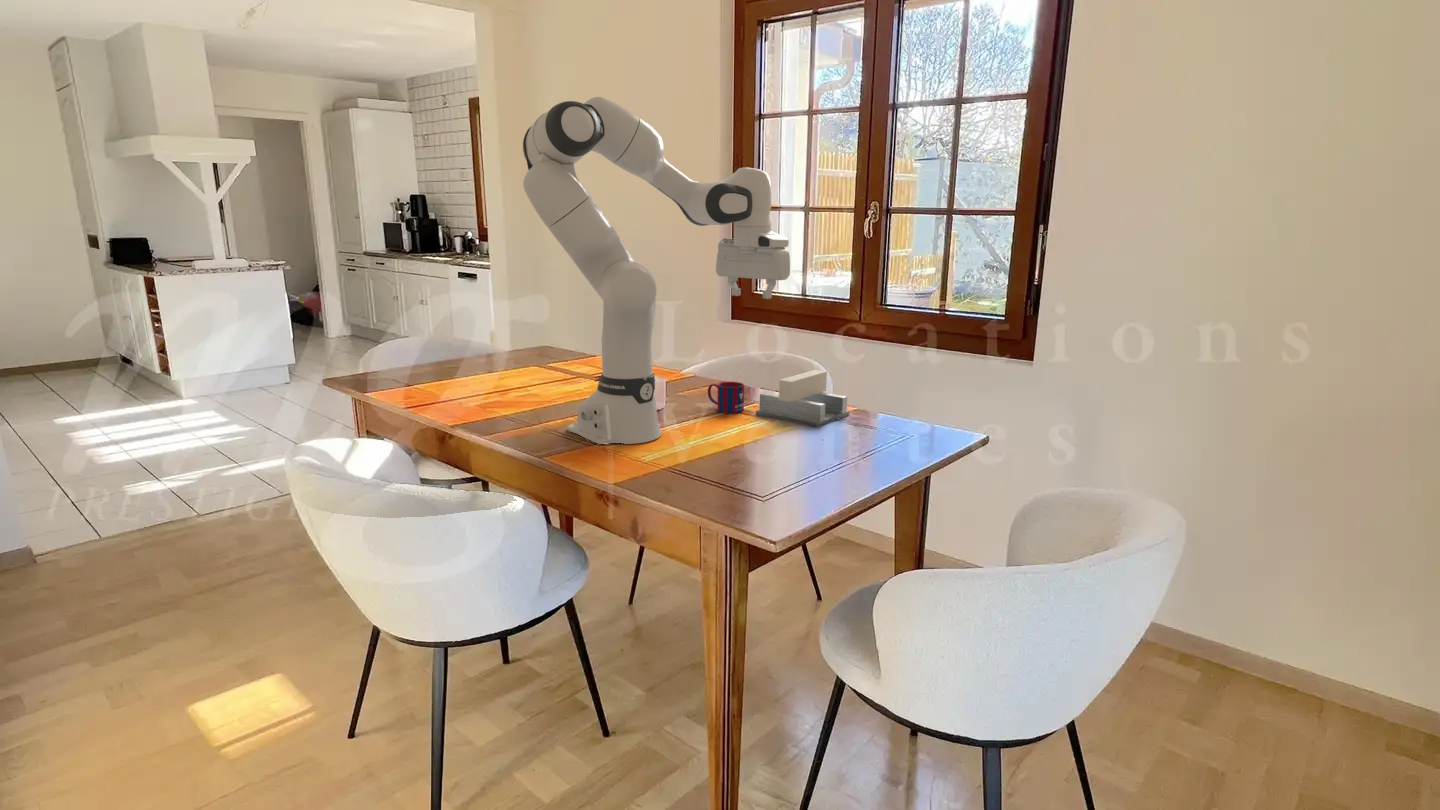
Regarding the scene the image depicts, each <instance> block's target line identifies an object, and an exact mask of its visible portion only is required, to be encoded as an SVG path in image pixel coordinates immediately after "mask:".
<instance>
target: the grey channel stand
mask: <svg viewBox="0 0 1440 810" xmlns="http://www.w3.org/2000/svg"><path fill="white" fill-rule="evenodd" d="M847 403H848V396H846V395H839V394H835V393H829V392H825V391H824V392H821V393H818V394H815V395H812V396H808V397H805V398H802V399H799V400H796V401H793V402H787V401H782V400H779V394H773V393H770V392H762V393H759V408H758V409H756V410H755V415H758V416H761V417H765V418H766V417H767V418H771V419H775V420H780V421H785V422H789V423H790V422H791V423H793V424H794V423H796V424H799V425H805V426H808V425H810V426H809V427H813V426H815V427H814V428H817V426H818V427H820V425H821V426H824V425H826V424H829V423H831V421H832V422H834V421H837V420H839V419H838V418H840V419H842V418H841V417H843V418H845V417H848V416H850V413H851V412H850V410H847V409H848V408H847V407H848V404H847ZM847 415H848V416H847ZM844 416H845V417H844ZM836 419H837V420H836ZM833 420H834V421H833ZM823 424H824V425H823Z"/></svg>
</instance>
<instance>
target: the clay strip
mask: <svg viewBox="0 0 1440 810" xmlns="http://www.w3.org/2000/svg"><path fill="white" fill-rule="evenodd" d="M827 379H828V371H825V370H818V369H814V370H813V369H812V370H810V371H806V372H802V373H799V374H796V375H792V376H787V377H784V378H781V379H779V380H778V381H779V382H778V384H779V385H778V395H779V400H782V401H787V402H793V401H796V400H799V399H802V398H805V397H808V396H812V395H815V394H818V393H821V392H824V393H825V392H826V391H827Z"/></svg>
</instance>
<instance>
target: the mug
mask: <svg viewBox="0 0 1440 810" xmlns="http://www.w3.org/2000/svg"><path fill="white" fill-rule="evenodd" d="M713 386H714V387H715V388H716V389H717V401H716V400H715V399H714V398H713V395H712V393H711V392H712V387H713ZM707 396H708V398H709V400H710V401H711V402H712V403H713V404H714V405H716V406H717V411H718V412H719V413H722V414H730V415H731V414H732V415H734V414H741V413H743V412H744V410H745V384H744V383H742V382H738V381H724V382H723V381H722V382H719V383H717V384H716V383H711V384H709V386H708V388H707Z"/></svg>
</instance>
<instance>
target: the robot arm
mask: <svg viewBox="0 0 1440 810" xmlns="http://www.w3.org/2000/svg"><path fill="white" fill-rule="evenodd" d="M664 149H665V148H664V141H663V138H662V136H661V135H660V134H659V133H658V132H657V131H656V129H654V128H653V127H652V126H651V125H650V124H648V123H647V122H646V120H645V121H644V120H643V119H642V118H640V117H639V116H638V115H636V114H634V112H632V111H630V110H629V109H627V108H625V107H623V106H621V105H619V104H617V103H616V102H614V101H612V100H610V99H607V98H605V97H602V96H594V97H591V98H589V99H588V100H586V101H585V102H584V103H582V102H579V101H574V100H573V101H572V100H570V101H569V100H568V101H567V100H566V101H563V102H560V103H557V104H556V105H553V106H552V107H551V108H550V110H548V111H546V112H545V113H542V114H541V115H540V116H539V117H538V118H537V119H536V120H535V121H534V122H533V124H531V126H530V127H529V128H528V129H527V130H526V132H525V134H524V137H523V141H522V151H523V157H524V158H525V161H526V164H527V169H528V171H527V172H526V174H525V175H524V179H523V180H522V181H523V183H522V184H523V190H524V192H525V194H526V197H527V198H528V199H529V202H530V203H531V205H532V207H533V209H534V210H535V211H536V213H537V215H538V217H539V218H540V220H541V221H542V222H543V224H544V225H545V226H546V227H547V229H548V231H550V232H551V234H552V235H553V237H554V238H555V239H556V240H557V242H558V243H559V245H560V246H561V247H562V248H563V250H564V251H565V252H566V254H568V256H569V257H570V259H571V260H572V261H573V262H574V264H575V265H576V267H577V268H578V270H580V272H581V273H582V274H583V276H584V277H585V279H586V280H587V282H588V283H589V284H590V285H591V287H592V288H593V289H594V291H595V292H596V294H597V295H598V296H599V297H600V299H601V300H602V302H603V304H602V305H603V308H602V309H603V310H602V311H603V317H602V334H601V363H602V365H601V366H602V369H601V370H602V371H601V372H602V373H601V375H597V376H594V377H593V378H595V380H594V382H598V384H597V388H596V389H597V390H596V391H594V392H593V393H592V394H591V395H590V396H589V397H588V398H585V400H584V401H582V402H581V403H580V404H579V406H578V409H577V421H576V422H573V423H570V424H569V425H568V426H567V428H566V430H567V429H568V430H570V431H572V432H574V433H577V434H579V435H581V436H583V437H585V438H587V439H590V440H592V441H594V442H596V443H600V444H603V443H622V444H621V445H632V444H641V443H648V442H652V441H654V440H657V439H658V438H660V437H661V436H662V432H661V423H659V418H658V410H657V404H656V396H655V394H654V392H655V389H656V377H655V374H654V372H653V334H654V325H655V315H656V301H657V297H656V296H657V284H656V283H657V282H656V280H655V277H654V276H653V274H652V273H651V271H650V270H649V269H648V268H646V267H645V266H644V265H642V264H640V263H638V262H637V261H636V260H635V258H634V257H633V255H632V254H631V252H630V251H629V250H628V248H627V247H626V245H625V243H624V242H623V240H622V239H621V237H620V235H619V234H618V232H617V231H616V230H615V227H614V226H613V224H612V223H611V222H610V221H609V220H608V219H609V218H607V216H606V215H605V214H604V212H603V211H602V210H601V208H600V207H599V205H598V204H597V203H596V201H595V200H594V199H593V197H592V196H591V195H590V194H589V192H588V191H587V189H585V187H584V186H583V185H582V184H581V183H580V180H579V179H578V176H577V173H576V171H575V164H576V163H577V162H579V161H580V160H581V159H582V158H583V157H584V156H585V155H587V154H588V153H589V152H595V153H597V154H599V155H601V156H603V157H604V158H605V159H607V160H608V161H610V162H611V163H613V164H614V165H615V166H617V167H619V168H620V169H622V170H624V171H625V172H628V173H630V174H632V175H634V176H636V177H638V178H640V179H642V180H644V181H645V182H647V183H648V184H649V185H652V187H654V188H655V189H656V190H658V191H659V192H661V193H662V194H664V195H665V196H666V197H668V198H669V199H671V200H672V201H673V202H674V203H675V204H676V205H677V206H678V208H679V209H680V210H681V211H682V214H683V215H684V216H685V218H686V219H687V220H688V221H689V222H690V223H692V224H693V225H696V226H699V227H703V226H710V225H711V226H724V225H729V224H731V223H733V238H728V237H725V238H722V239H721V240H720V241H719V242H718V245H717V255H716V264H715V272H716V274H717V276H718V277H726V278H727V282H728V285H729V286H730V288H731V296H732V297H733V296H734V297H739V296H741V295H742V293H741V292H742V291H741V290H742V288H740V287H739V286H738V283H737V282H738V280H739V278H740V279H742V278H743V279H744V278H745V279H753V280H765V281H766V285H767V287H766V288H765V290H762V299H766V300H770V299H772V297H773V296H772V295H773V294H772V293H773V291H774V288H775V287H776V284H777V281H786V280H788V278H789V277H790V275H791V257H790V252H789V250H788V249H787V248H788V247H789V243H790V241H789V239H788V237H786V236H783V235H780V234H779V233H776V232H774V231H772V222H771V219H770V213H771V209H772V187H771V185H772V184H771V179H770V175H768V173H767V172H766V171H764V170H762V169H759V168H754V167H748V166H747V167H739V168H738V169H736V171H735V172H733V173H732V174H729V176H727V177H725V178H723V179H720V180H718V181H716V182H699V181H695V180H693V179H690V178H689V177H688V176H686V175H685V174H684V173H682V172H681V171H679V169H677V168H675V167H674V166H673V165H672V164H670V163H669V162H668V160H667V159H666V158H665V156H664V152H665V150H664ZM596 378H597V379H596ZM587 439H586V440H587ZM623 443H624V444H623Z"/></svg>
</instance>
